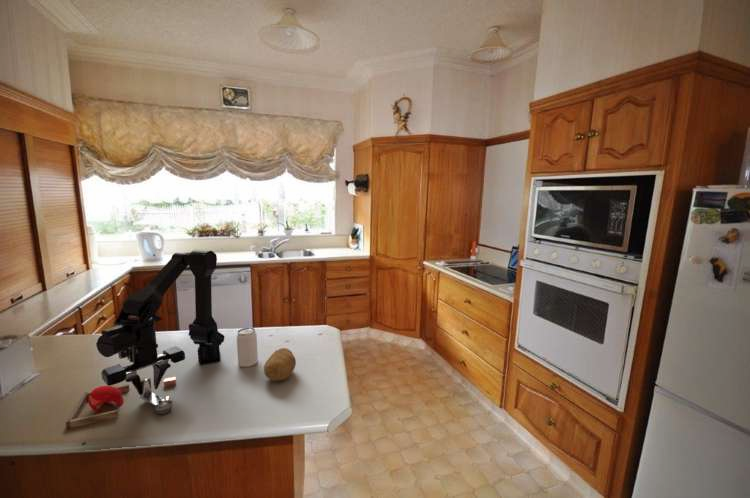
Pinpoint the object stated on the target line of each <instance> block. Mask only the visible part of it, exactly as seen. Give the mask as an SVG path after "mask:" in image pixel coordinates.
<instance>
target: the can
mask: <svg viewBox="0 0 750 498" xmlns="http://www.w3.org/2000/svg"><path fill="white" fill-rule="evenodd" d="M257 337H258V336H257V332H256V329H255V328H254V327H244V328H241V329H239V330H238V331H237V335H236V348H237V349H236V350H237V362H238V366H239V367H242V368H249V367H254V366H255V365H256V364H257V363H258V338H257Z"/></svg>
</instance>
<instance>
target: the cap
mask: <svg viewBox="0 0 750 498" xmlns="http://www.w3.org/2000/svg"><path fill="white" fill-rule="evenodd" d="M116 387H117V386H113V385H111V386H108V385H102V386H98V387H95V388H94V389H92V390H91V391H92V392H91V391H90V392H91V393H90V396H89V399H88V400H87V402H88V405H89V406H90V407H89V408H91V409H92V410H93V411H94V413H95V414H99V413H100V410H99V408H98V407H100V406H102V405H103V404H106V403H114V404H115V405H118V406H121V405H123V404H124V397H123V392H122V393H121V391H120V390H119V389H118V388H116Z"/></svg>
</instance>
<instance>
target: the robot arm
mask: <svg viewBox="0 0 750 498" xmlns="http://www.w3.org/2000/svg"><path fill="white" fill-rule="evenodd" d="M217 261H218V257H217V254H216V252H214V251H212V250H205V249H193V250H192V251H191V252H175V253H173V254H172V255H171V258H170V259H169V261H168V262H167V263H165V265H164V266H163V268H162V269H160V270H159V272H158V273H157V274H156V275H155V276H154V277H153V278H152V279H151V280H150V281H149V283H148V284H147V285H146V286H145V287H143V288H141V289H138V290H136V291H135V292H134V293H132V294H131V295H130V296H128V298H126V299H125V300H124V302H123V304H122V308H121V309H120V312H119V314H118V315H117V317H116V319H115V321H114V323H113V324H114V325H115V326H113V327H110V328H105V329H103V330H101V335H100V336H98V338H97V340H96V345H95V346H96V349H97V352H98V353H99V354H100V355H101V356H102V357H105V358H110V357H113V356H115V355H118V358H119V359H125V358H126V359H127V360H129V362H130V363H132V364H130V365H126V366H124V367H123V366H122V365H121V364H120V363H118V364H114V365H112V366H108V367H105V368H103V370H101V373H100V374H101V380H102V381H103V382H104V383H105V384H106V386H113V385H114V386H115V385H116V384H119V383H122V382H124V381H125V382H126V383H130V382H131V383H132V384H133V386H134V388H135V390H136V392H137V394H138V395H139V397H140V396H141V395H142V387H141V377H140V375H139V374H138V373H137V371H139V370H142V369H145V368H149V367H152V368H153V369H152V370H153V388H154V390H157V389H158V388H159V385H160V384H161V381H162V379H163V377H164V375H165V373H166V371H167V370H168V369H170V368H171V366H172V365H171V363H169V360H170V362H172V363H174V364H177V363H179V362H183V361H185V360H186V353H185V351H184V350H183V349H182V348H179V347H178V346H177V345H176V346H172V347H170V348H169V347H168V348H166V349H163V350H162V354H159V355H158V348H159V344H158V343H157V335H156V324H155V323H157V322H160V321H162V319H163V318H162V317H160V316H159V315H157V313H158V312H159V309H160V308H161V306H162V305H163V300H164V295H165V294H166V293H167V291H168V290H169V289H170V288H171V287H172V285H173V284H175V282H176V281H177V280H178V278H179V277H180V276H181V275H182V273H183V272H184V271H185V270H186V269H187V267H189V269H190V271H191V274H192V275H193V277H194V297H195V298H194V301H195V304H194V305H195V318H194V320H193V321H192V322H191V323H189V324H188V336H189V339H190V340H191V341H192V342H193V344H194V345H198V347H197V358H198V359H197V360H198V362H199V365H206V364H212V363H216V362H217V363H218V362H220V361H221V352H220V351H221V349H220V346H221V345H222V343H223V342H225V335H224V334H222V333H221V332H220V331H219V329H218V324H217V322H216V320H215V319H214V318H213V315H212V314H213V309H212V308H213V305H212V302H213V301H212V300H213V299H212V298H213V297H212V276H213V274H214V272H215V270H216V269H217ZM133 318H137V319H133Z"/></svg>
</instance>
